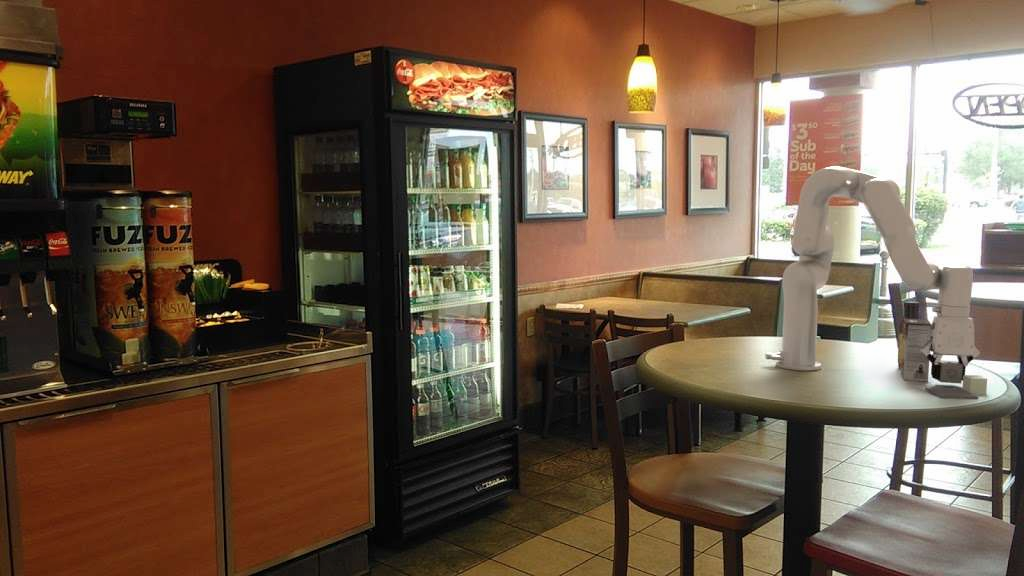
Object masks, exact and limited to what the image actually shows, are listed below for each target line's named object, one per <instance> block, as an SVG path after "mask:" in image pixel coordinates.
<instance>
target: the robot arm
mask: <svg viewBox="0 0 1024 576" xmlns="http://www.w3.org/2000/svg"><path fill="white" fill-rule="evenodd" d="M834 197H835V198H844V199H848V200H850V201H854V202H858V203H861V204H863V205H864V206H865V208H866V210H867V212H868V214H869V215H870V217H871V219H872V221H873V222H874V224H875V227H876V228H877V230H878V231H879V233H880V235H881V237H882V239H883V243H884V245H885V248H886V251H887V253H888V256H889V257H890V260H891V262H892V265H893V266H894V268H895V269H896V271H897V273H898V275H899V278H900V279H901V280H902V282H903V284H904V285H905V286H906V288H908V289H909V290H911V291H913V292H918V293H919V292H920V293H922V292H926V291H932V290H938V301H937V304H936V306H932V308H931V309H932V310H931V311H932V312H933V313H935V314H936V315H934V316H933V319H932V322H931V324H932V325H931V330H930V335H929V341H928V342H927V343H926V344H925V345H924V346H923V347H922V348H921V349H920V352H921V353H922V354H924V355H925V356H926V357H927V359H928V360H929V363H931V367H930V375H931V378H932V379H934V380H936V381H938V380H939V379H940V369H941V365H939V363H940V360H942V357H943V356H956V357H957V362H959V363H960V364H962V365H963V371H962V382H963V375H966V369H967V368H966V367H968V365H969V363H971V361H973V360H974V359H975V358H977V357H978V356H979V355H980V353H981V352H980V350H978V348H977V347H976V346H975V328H974V327H975V326H974V319H973V318H972V317H970V313H971V300H972V289H973V282H974V281H973V280H974V279H973V277H974V271H973V269H972V267H971V266H968V265H962V264H961V265H959V264H948V265H947V264H946V265H945V264H939V263H934V262H928V261H927V260H926V259H925V256H924V255H923V253H922V251H921V248H920V247H919V245H918V242H917V239H916V227H915V224H914V223H915V222H914V221H913V219H912V217H911V216H910V214H909V212H908V210H907V208H906V207H905V205H904V204H903V202H902V200H901V190H900V187H899V185H898V184H897V183H896V182H895V181H894V180H892V179H890V178H886V177H881V176H877V175H874V174H870V173H866V172H863V171H860V170H856V169H853V168H848V167H842V166H836V165H835V166H829V167H824V168H821V169H819V170H816V171H815V172H813V173H812V174H810V175H809V177H807V179H806V180H805V181H804V183H803V184H802V187H801V190H800V193H799V198H798V205H797V206H798V207H797V211H796V217H795V220H794V221H795V222H794V229H793V233H792V239H791V247H792V248H793V251H794V252H795V253H797V254H798V255H799V259H798V260H797V261H794V262H792V263H790V264H789V265H788V266H786V268H785V269H784V272H783V274H782V280H781V281H782V290H783V291H782V294H783V317H782V319H783V320H782V321H783V322H782V344H781V347H782V348H781V349H779V350H778V352H777V351H776V353H774V352H765V354H764V355H765V356H764V357H765V360H772V361H776V362H775V365H776V366H777V367H778V368H781V369H786V370H794V371H817V370H820V369H822V364H821V363H820V362H817V361H816V360H817V338H818V337H817V336H818V319H819V317H818V316H819V315H818V314H819V313H818V312H819V311H818V310H819V306H818V305H819V304H818V302H819V301H818V292H817V290H820V289H822V288H823V287H824V286H825V285H826V284H827V282H828V280H829V277H830V271H831V265H832V260H833V253H834V249H835V248H834V247H835V236H834V233H833V231H832V230H831V229H830V228H829V227H828V226H827V223H828V222H827V221H828V216H829V209H830V207H829V206H830V205H829V203H830V200H831V198H834ZM929 350H930V353H929ZM931 353H932V354H931Z"/></svg>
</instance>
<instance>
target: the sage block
mask: <svg viewBox="0 0 1024 576" xmlns="http://www.w3.org/2000/svg"><path fill="white" fill-rule="evenodd" d="M961 387H962V388H961V389H962V390H964V391H967V392H969V393H971V394H973V395H976V394H977V395H980V394H983V395H986V394H987V391H988V390H987V389H988V388H987V387H988V378H986V377H983V376H981V375H975V374H974V375H973V374H972V375H969V374H968V375H967V374H965V375H963V381H962V386H961Z"/></svg>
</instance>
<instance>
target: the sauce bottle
mask: <svg viewBox="0 0 1024 576" xmlns="http://www.w3.org/2000/svg"><path fill="white" fill-rule="evenodd" d="M903 308H904V309H903V310H904V313H903V317H904V318H903V319H919V320H920V317H919V308H920V302H918V301H903ZM903 319H902V320H901V322H900V323H899V330H898V341H897V342H898V343H897V344H898V345H897V363H898V364H897V366H898V369H900V370H901V358H902V339H903V321H904V320H903Z"/></svg>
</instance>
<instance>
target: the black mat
mask: <svg viewBox="0 0 1024 576" xmlns="http://www.w3.org/2000/svg"><path fill="white" fill-rule="evenodd" d="M924 391H925V392H928V393H930V394H931V395H934V396H936V397H939V398H941V399H969V400H970V399H971V400H972V399H974V400H975V399H976V400H979V396H977V395H976V394H971V393H969V392H967V391H964V390H962V388H942V387H939V388H938V387H937V388H936V387H935V388H933V387H924Z"/></svg>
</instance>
